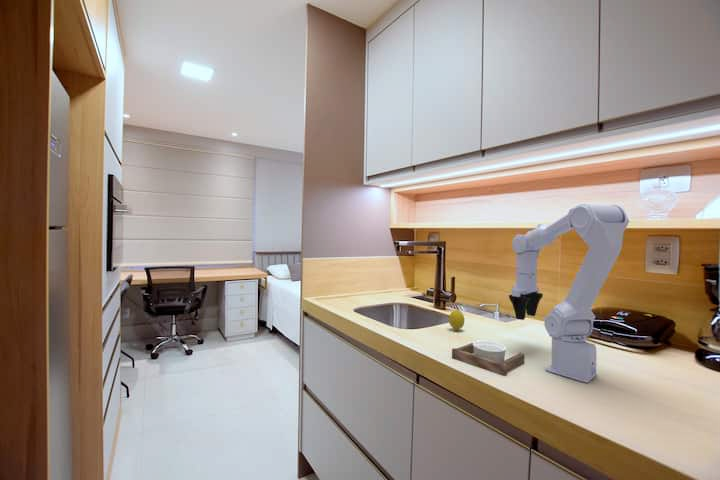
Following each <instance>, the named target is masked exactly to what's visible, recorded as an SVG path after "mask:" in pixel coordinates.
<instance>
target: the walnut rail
mask: <svg viewBox="0 0 720 480" xmlns="http://www.w3.org/2000/svg"><path fill="white" fill-rule="evenodd" d="M474 342H475V341H474ZM474 342H471V343H468V344H466V345H463V346H460V347H458V348H451V358H452V359H455V360H457V361H461V362H463V363H467V364H470V365H472V366H475V367H478V368H481V369H484V370H487V371H490V372H492V373H496V374H498V375H502V376H503V377H504V376H507V375H508V372H511V371H513V370H514V369H516V368H518V367H519V366H522V365H524V364H525V353H522V352H519V353H517V354H516V355H513V356H510V357H509V358H507V359H504V361H503V362H501V363H500V362H497V361H493V360H490V359H487V358H484V357H481V356H478V355H474V347H473V343H474Z"/></svg>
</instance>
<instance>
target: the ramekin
mask: <svg viewBox="0 0 720 480" xmlns="http://www.w3.org/2000/svg"><path fill="white" fill-rule="evenodd" d="M472 343H473V342H472ZM473 347H474V353H473V354H474V355H478V356H481V357H484V358H487V359H490V360H493V361H497V362H500V363H501V362H503V361H505V360H506V359H505V356H506V351H507V347H506V346H505V345H504V344H502V343H499V342H495V341H490V340H476V341H474V343H473Z"/></svg>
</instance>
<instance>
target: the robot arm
mask: <svg viewBox="0 0 720 480" xmlns="http://www.w3.org/2000/svg"><path fill="white" fill-rule="evenodd" d="M629 223H630V220H629V217H628V216H627V213H626V212H625V209H624V208H623V207H621V206H620V205H617V204H611V205H609V204H608V205H607V204H606V205H603V204H586V203H581V204H577V206H574V207H572V208H570V209H569V210H568V213H566V214H564V215H563V216H562V217H560V218H559V219H557V220H555V221H554V222H553V223H551V224H544V223H540V224H538V225H536V226H537V227H536V228H534V229H532V230H529V231H527V232H526V233H525V234H516V235H515V236H514V237H513V239H512V242H511V243H512V244H511V248H512V250H513V251H514V253H516V254H515V256H516V257H515V259H516V260H515V267H516V268H515V270H516V271H515V285H513V286H512V290H511V294H509V295H508V299H509V300H510V302H511V304H512V307H513V310H514V311H513V312H514V313H515V317H516V319H517V320H521V321H524V320H525V319H526V316H531V317H535V316H536V313H537V311H538V306H539V304H540V301H541V299H542V298H543V296H544V294H543V293H542V292H541V293H540V285H538V284H537V283H538V279H537V276H538V259H539V257H540V252H541V251H542V248H544V247H547V246H549V245H551V244H553V243H555V242H556V241H557V238H558V237H559V236H560V235H563V234H565V233H568V232H570V231H575V232H576V233H577V235H578V236H579V237H580V238H581V240H582V241H583V242H584V243H585V244H587V246H588V247H589V248H588V250H587V251H586V252H587V253H586V255H585V257H584V259H583V261H582V263H581V265H580V267H579V269H578V272H577V274H576V276H575V278H574V280H573V282H572V285H571V286H570V288H569V290H568V293H567V295H566V297H565V298H564V301H562V302H560V303H558V304H556V305H555V306H553V308H552V309H551V311H550V312H548V313H547V314H546V315H545V317H544V323H543V325H544V327H545V330H546V332H547V333H548V335H549V337H550V338H551V364H550V365H548V367H546V368H545V371H546V372H550V373H551V374H552V373H553V374H556V375H559V376H562V377H567V378H570V379H573V380H575V381H576V380H577V381H580V382H583V383H589V382H591V381H592V380H593V379H594V378H595V377H596V376H597V375H598V373H597V346H596V344H594V343H592V342H588V341H587V340H588V336H590V335H591V334H592V333H593V330H594V321H595V319H596V315H595V314H594V313H593V311H592V310H591V308H592V306H593V304H594V302H595V301H596V299H597V297H598V294H599V293H600V291H601V289H602V287H603V285H604V283H605V282H606V280H607V278H608V276H609V274H610V272H611V270H612V269H613V267H614V265H615V262H616V261H617V259H618V257H619V255H620V254H621V252H622V248H623V241H624V233H625V231H626V229H627V227H628V225H629ZM526 314H527V315H526Z"/></svg>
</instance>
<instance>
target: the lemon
mask: <svg viewBox="0 0 720 480" xmlns="http://www.w3.org/2000/svg"><path fill="white" fill-rule="evenodd" d="M448 321H449V325H450V327H451V328H452V329H454V330H455V331H459V330H460V329H462V328H463V327H464V326H465V325H464V324H465V316H464V313H463V312H462V311H460V310H459V309H454V310H453V311H451V312H450V314H449V318H448Z"/></svg>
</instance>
